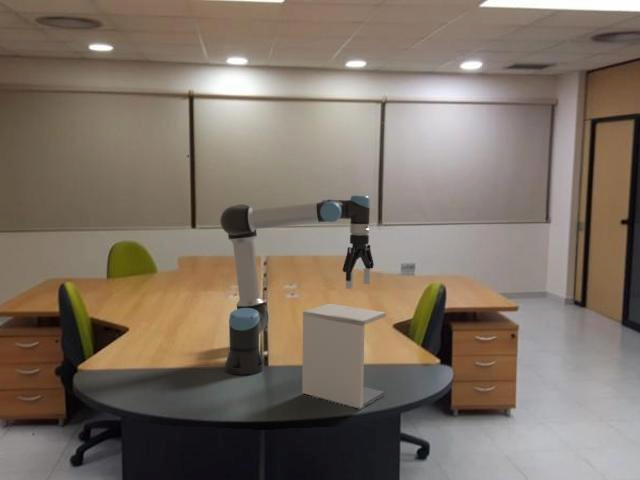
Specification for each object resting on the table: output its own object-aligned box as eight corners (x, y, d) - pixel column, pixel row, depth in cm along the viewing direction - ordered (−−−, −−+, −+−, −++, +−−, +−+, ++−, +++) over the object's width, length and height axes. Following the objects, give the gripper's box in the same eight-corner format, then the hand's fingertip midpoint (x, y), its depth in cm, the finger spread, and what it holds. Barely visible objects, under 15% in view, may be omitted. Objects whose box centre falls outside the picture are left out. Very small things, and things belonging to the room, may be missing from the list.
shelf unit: (360, 410, 203) (362, 321, 200) (302, 394, 217) (302, 311, 213) (384, 395, 216) (386, 312, 213) (327, 382, 230) (328, 303, 227)
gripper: (350, 237, 233) (349, 292, 236) (382, 232, 254) (381, 283, 256) (334, 235, 237) (333, 289, 240) (367, 231, 258) (365, 281, 260)
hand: (358, 286), depth 248 cm, fingers open, 13 cm apart
